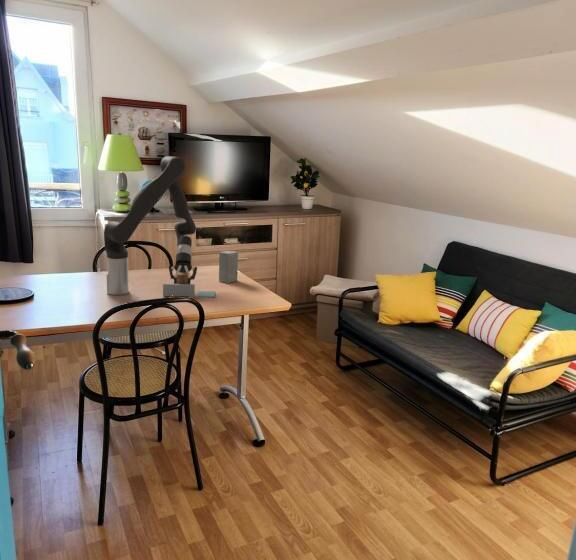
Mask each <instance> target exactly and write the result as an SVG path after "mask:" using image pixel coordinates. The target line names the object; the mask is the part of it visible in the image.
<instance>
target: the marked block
mask: <svg viewBox="0 0 576 560" xmlns="http://www.w3.org/2000/svg"><path fill="white" fill-rule="evenodd" d="M187 282H188V273H186V272H177V284H187Z"/></svg>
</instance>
